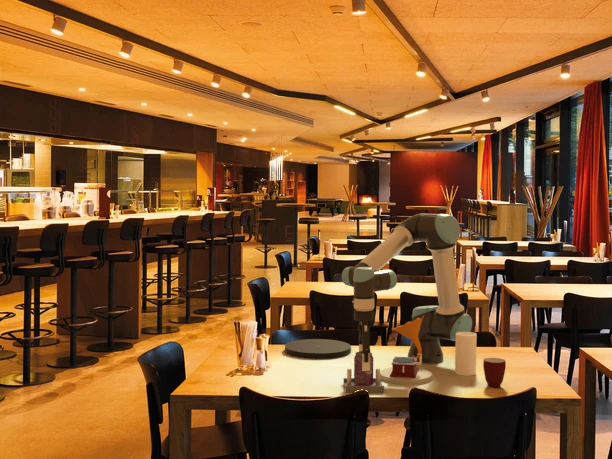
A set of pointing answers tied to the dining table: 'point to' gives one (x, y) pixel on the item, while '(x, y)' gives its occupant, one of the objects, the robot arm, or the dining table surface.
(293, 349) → the disc
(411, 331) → the gramophone
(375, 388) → the cradle tray
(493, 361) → the mug
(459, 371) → the white cylinder
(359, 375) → the beverage can
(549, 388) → the dining table surface
